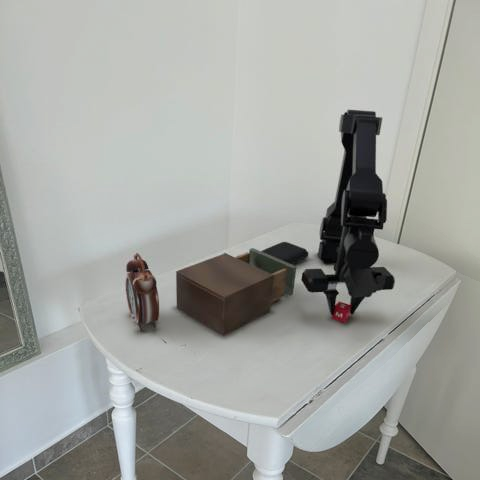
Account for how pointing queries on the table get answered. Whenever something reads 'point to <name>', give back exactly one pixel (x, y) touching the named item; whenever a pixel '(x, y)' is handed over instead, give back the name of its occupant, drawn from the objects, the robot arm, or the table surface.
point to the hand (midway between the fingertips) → (341, 313)
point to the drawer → (273, 271)
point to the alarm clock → (141, 292)
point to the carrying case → (287, 252)
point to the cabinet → (224, 293)
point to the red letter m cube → (342, 312)
